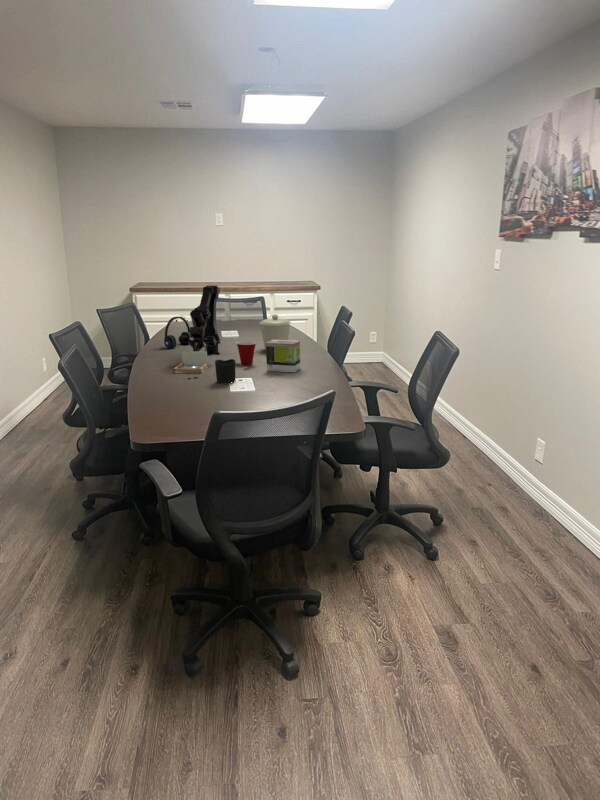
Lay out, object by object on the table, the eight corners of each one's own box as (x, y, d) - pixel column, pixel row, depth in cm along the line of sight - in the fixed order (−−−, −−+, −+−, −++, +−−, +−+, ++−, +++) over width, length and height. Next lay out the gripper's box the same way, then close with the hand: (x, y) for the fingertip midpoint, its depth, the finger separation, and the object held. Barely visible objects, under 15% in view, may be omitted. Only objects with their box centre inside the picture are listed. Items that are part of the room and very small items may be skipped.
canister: (286, 346, 336) (285, 311, 329) (295, 351, 319) (294, 315, 313) (257, 348, 330) (256, 313, 324) (265, 354, 314) (263, 317, 307)
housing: (181, 368, 284) (181, 362, 283) (208, 369, 282) (208, 362, 281) (173, 375, 271) (173, 369, 270) (201, 375, 269) (200, 369, 268)
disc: (195, 367, 282) (195, 363, 281) (202, 369, 276) (202, 366, 275) (180, 369, 277) (180, 366, 277) (187, 372, 271) (187, 369, 271)
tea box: (300, 368, 281) (300, 340, 277) (294, 373, 272) (293, 343, 268) (273, 366, 286) (272, 338, 281) (266, 371, 277) (265, 342, 272)
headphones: (171, 350, 329) (168, 319, 323) (163, 348, 332) (160, 318, 327) (194, 344, 345) (192, 315, 340) (186, 343, 349) (184, 314, 343)
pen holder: (227, 385, 252) (226, 364, 249) (211, 382, 257) (210, 361, 254) (240, 380, 260) (239, 360, 257) (224, 378, 265) (223, 357, 262)
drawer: (183, 367, 284) (182, 351, 282) (208, 367, 283) (206, 351, 281) (175, 374, 272) (173, 356, 269) (200, 374, 270) (199, 357, 268)
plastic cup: (260, 362, 294) (260, 340, 290) (250, 367, 285) (250, 344, 281) (243, 361, 298) (242, 339, 295) (233, 365, 289) (231, 343, 285)
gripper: (178, 320, 283) (172, 345, 276) (213, 320, 281) (209, 346, 274) (183, 332, 293) (178, 357, 286) (218, 333, 291) (214, 357, 284)
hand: (194, 354), depth 282 cm, fingers closed, pressing on drawer
